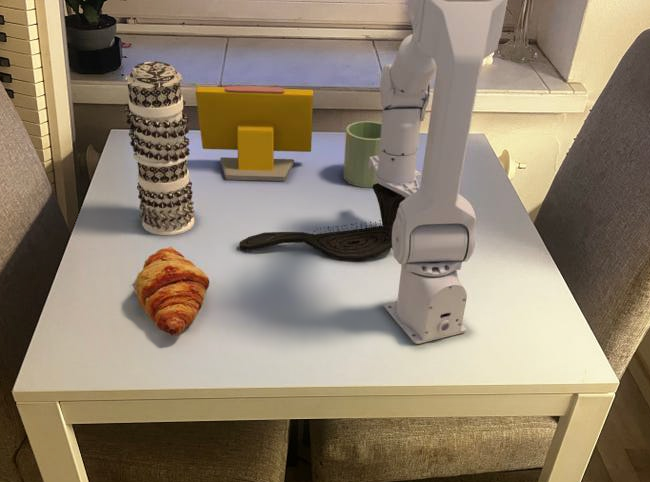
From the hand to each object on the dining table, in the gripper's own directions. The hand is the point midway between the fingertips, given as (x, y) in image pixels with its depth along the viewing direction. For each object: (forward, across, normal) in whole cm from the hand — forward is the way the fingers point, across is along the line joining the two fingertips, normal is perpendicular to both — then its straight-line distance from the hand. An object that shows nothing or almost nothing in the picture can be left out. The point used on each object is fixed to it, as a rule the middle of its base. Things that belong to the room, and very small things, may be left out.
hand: (390, 227), depth 124 cm
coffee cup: (+1, +20, -5) cm, 21 cm away
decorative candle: (+1, +16, +33) cm, 36 cm away
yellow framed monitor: (+1, +29, +13) cm, 32 cm away
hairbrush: (+1, 0, +13) cm, 13 cm away
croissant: (+1, -6, +38) cm, 38 cm away
